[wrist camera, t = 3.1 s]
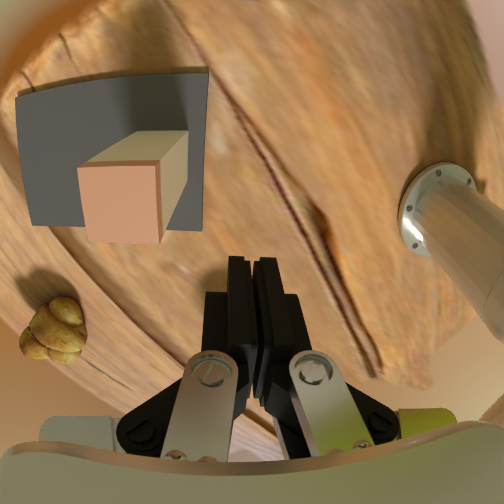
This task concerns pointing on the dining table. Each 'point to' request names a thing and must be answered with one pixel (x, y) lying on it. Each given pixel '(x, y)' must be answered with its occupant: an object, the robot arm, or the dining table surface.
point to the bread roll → (55, 332)
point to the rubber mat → (106, 138)
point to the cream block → (134, 187)
